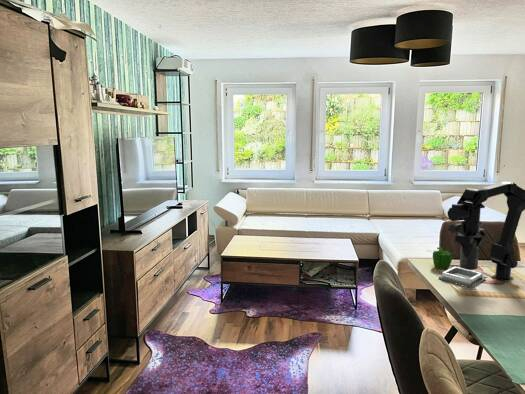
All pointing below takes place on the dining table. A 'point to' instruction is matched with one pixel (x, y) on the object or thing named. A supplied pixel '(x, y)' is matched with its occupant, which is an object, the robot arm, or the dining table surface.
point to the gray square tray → (462, 276)
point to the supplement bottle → (470, 258)
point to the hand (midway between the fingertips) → (469, 255)
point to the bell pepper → (442, 259)
